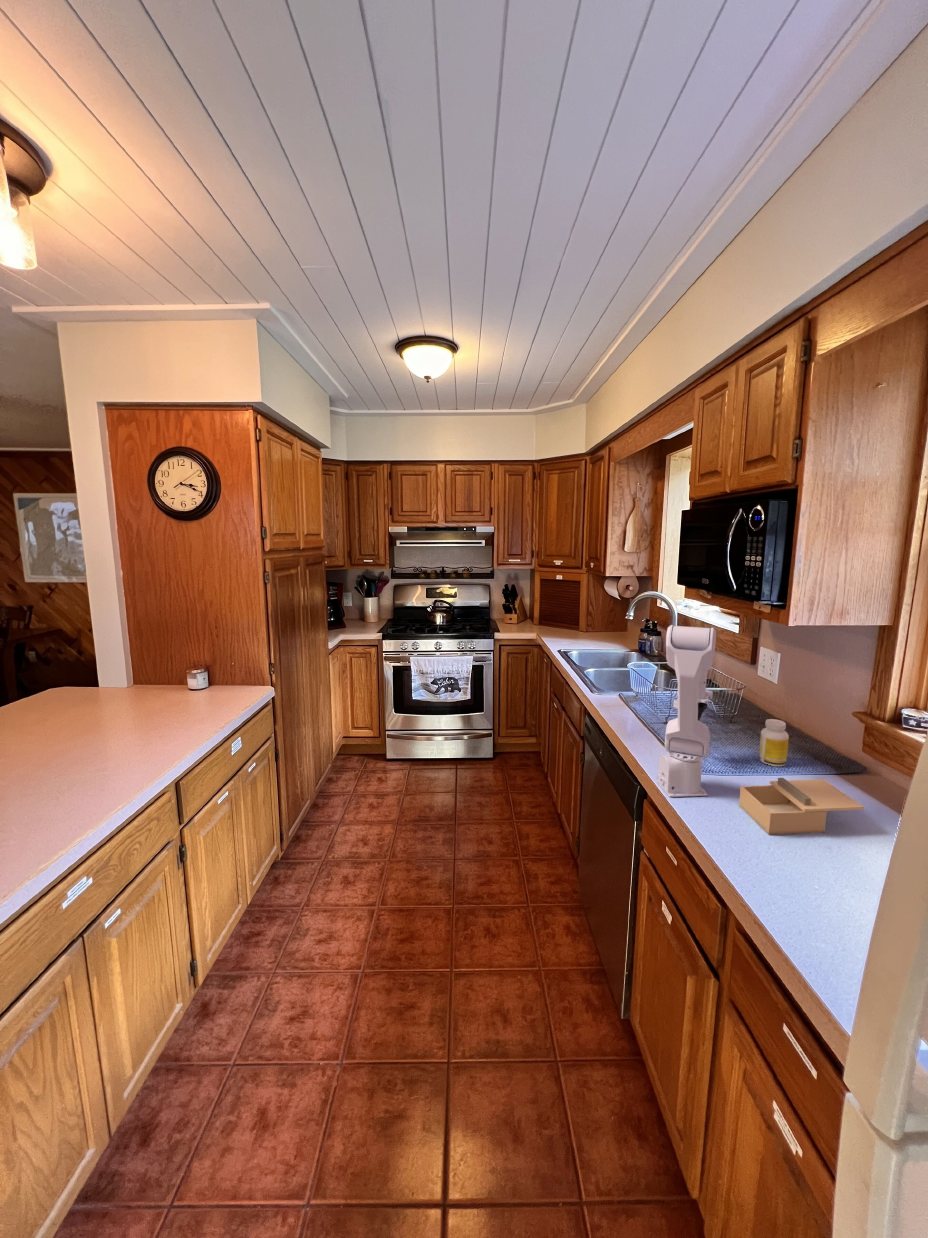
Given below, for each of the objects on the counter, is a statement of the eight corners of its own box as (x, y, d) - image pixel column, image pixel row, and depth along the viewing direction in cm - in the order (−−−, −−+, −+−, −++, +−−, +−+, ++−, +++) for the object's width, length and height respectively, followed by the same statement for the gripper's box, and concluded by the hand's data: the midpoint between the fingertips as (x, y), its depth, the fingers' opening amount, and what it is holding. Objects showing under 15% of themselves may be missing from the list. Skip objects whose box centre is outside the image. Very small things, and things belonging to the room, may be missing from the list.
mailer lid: (804, 811, 104) (805, 802, 103) (769, 783, 115) (770, 775, 115) (863, 809, 104) (864, 800, 103) (823, 781, 115) (824, 773, 115)
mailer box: (768, 835, 105) (770, 813, 104) (739, 806, 116) (740, 786, 115) (824, 832, 105) (826, 811, 104) (789, 804, 116) (791, 784, 115)
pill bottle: (790, 768, 132) (794, 727, 130) (763, 766, 134) (767, 726, 131) (780, 757, 139) (784, 718, 136) (755, 756, 140) (758, 717, 138)
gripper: (691, 689, 126) (688, 739, 129) (724, 679, 134) (721, 726, 136) (667, 682, 132) (665, 730, 135) (700, 673, 140) (697, 718, 142)
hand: (691, 727), depth 136 cm, fingers closed
